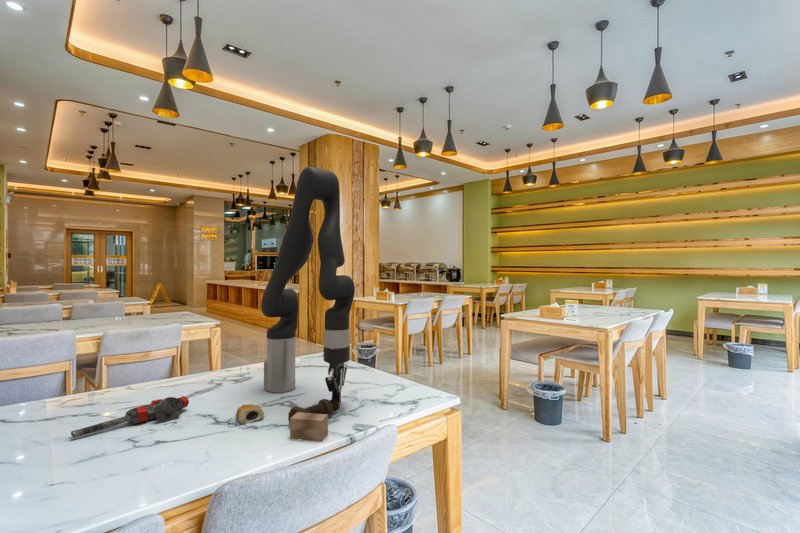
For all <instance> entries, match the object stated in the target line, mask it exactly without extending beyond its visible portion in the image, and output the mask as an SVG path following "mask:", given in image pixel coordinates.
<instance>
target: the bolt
mask: <svg viewBox="0 0 800 533" xmlns="http://www.w3.org/2000/svg"><path fill="white" fill-rule="evenodd" d="M340 405H341V403H339V402H338V401H337V400H335V399H332V398H331V399H326V398H322V399H320V400H319V401H318V403H317V404H314V405H312V406H308V407H306V408H303V407H301V406H297V405H295V406H292V407H291V408H290V410H289V412H288V416H287V417H288V418H287V420H288V424H289V425H290V418H291V417H292V416H293V415H295V414H296V413H297V412H301V413H315V414H328V418H329V417H331V415H332V413H333V412H336V411H338V410H339V409H340Z"/></svg>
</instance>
